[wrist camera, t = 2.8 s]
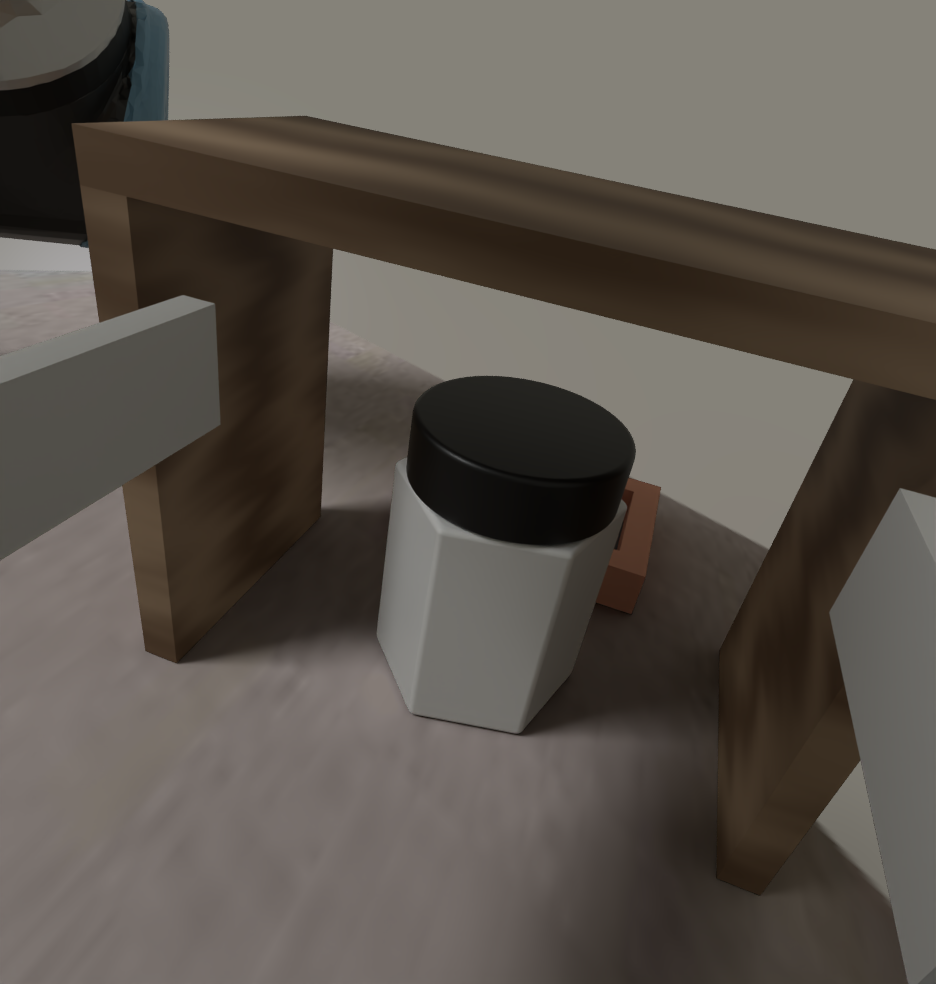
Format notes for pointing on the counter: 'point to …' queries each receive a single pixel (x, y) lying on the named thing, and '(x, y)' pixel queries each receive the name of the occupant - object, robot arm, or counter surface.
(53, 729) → the counter surface
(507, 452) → the jar
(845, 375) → the archway
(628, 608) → the tray
